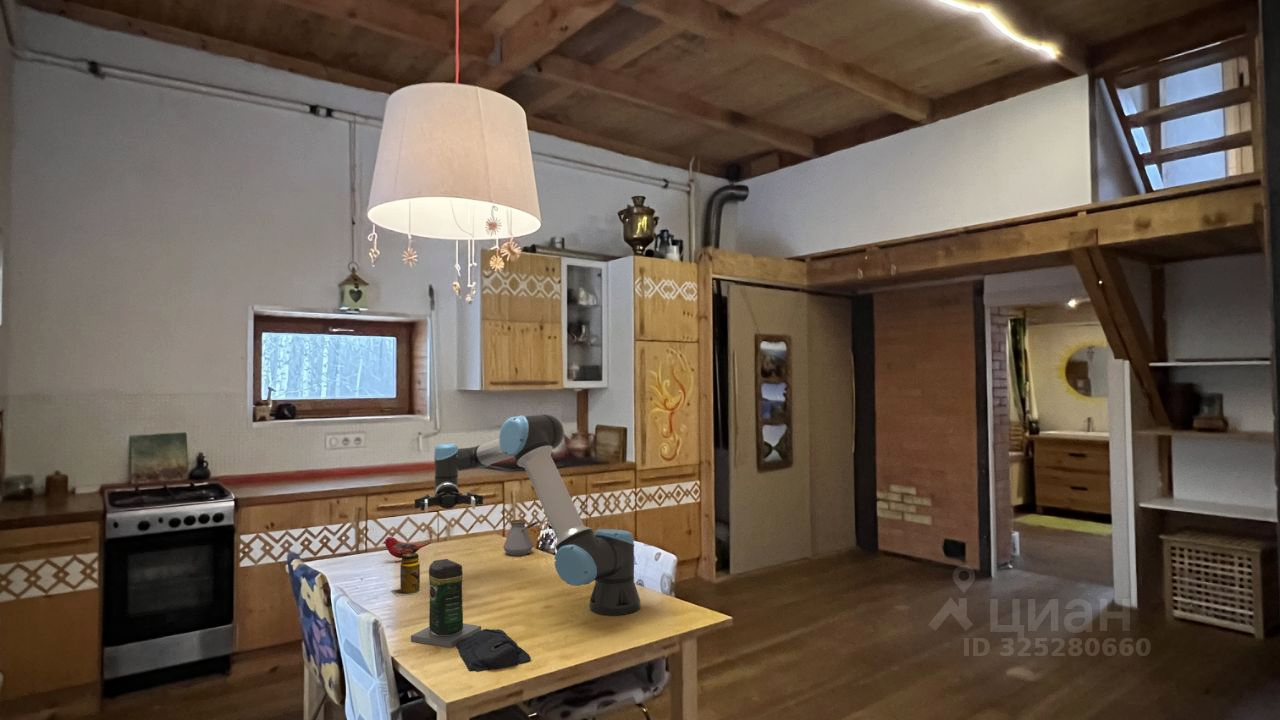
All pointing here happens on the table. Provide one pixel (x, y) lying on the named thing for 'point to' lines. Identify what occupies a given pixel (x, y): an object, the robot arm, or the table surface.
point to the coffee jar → (445, 597)
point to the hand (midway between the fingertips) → (450, 505)
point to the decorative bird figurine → (401, 547)
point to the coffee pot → (518, 539)
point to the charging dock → (444, 636)
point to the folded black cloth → (490, 651)
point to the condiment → (409, 575)
